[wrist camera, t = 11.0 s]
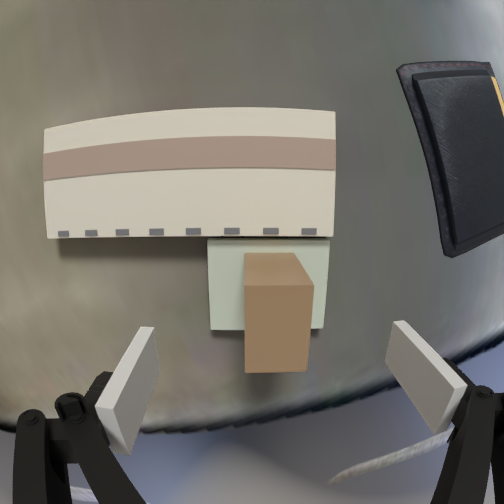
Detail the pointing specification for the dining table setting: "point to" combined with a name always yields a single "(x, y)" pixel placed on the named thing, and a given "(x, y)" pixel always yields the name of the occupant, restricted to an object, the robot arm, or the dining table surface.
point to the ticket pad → (192, 174)
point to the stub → (269, 296)
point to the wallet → (460, 146)
